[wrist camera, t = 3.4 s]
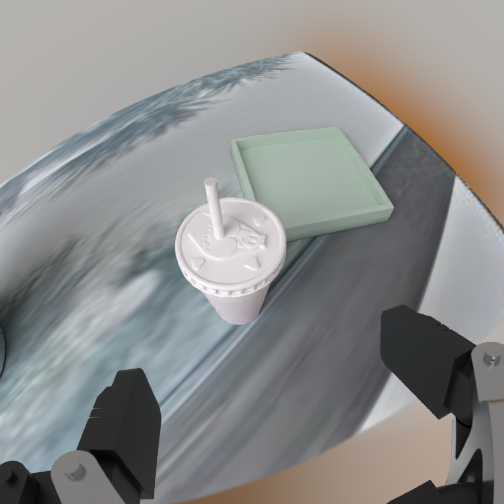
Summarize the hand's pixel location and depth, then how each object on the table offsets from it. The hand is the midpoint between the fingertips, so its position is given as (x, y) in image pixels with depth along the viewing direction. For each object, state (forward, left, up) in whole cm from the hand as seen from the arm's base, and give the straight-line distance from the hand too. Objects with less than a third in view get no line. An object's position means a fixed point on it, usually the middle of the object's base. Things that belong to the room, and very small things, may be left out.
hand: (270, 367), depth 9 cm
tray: (+10, +20, -14) cm, 26 cm away
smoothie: (0, +8, -14) cm, 16 cm away
